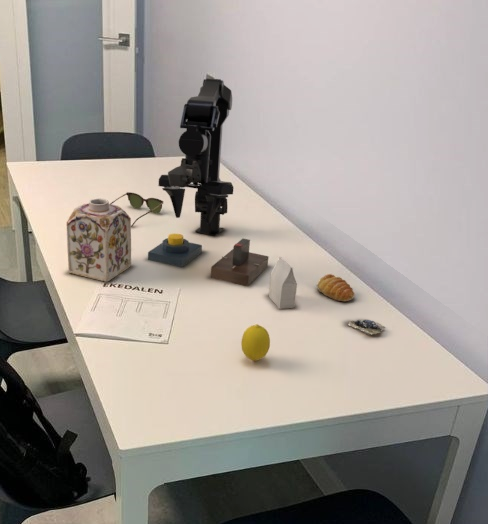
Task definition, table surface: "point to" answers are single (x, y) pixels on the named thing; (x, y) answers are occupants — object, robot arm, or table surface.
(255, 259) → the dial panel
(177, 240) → the button
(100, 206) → the decorative jar
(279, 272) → the grey wedge block
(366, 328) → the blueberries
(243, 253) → the dark grey block
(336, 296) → the pastry
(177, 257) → the blue button base
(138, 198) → the sunglasses
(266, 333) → the lemon
